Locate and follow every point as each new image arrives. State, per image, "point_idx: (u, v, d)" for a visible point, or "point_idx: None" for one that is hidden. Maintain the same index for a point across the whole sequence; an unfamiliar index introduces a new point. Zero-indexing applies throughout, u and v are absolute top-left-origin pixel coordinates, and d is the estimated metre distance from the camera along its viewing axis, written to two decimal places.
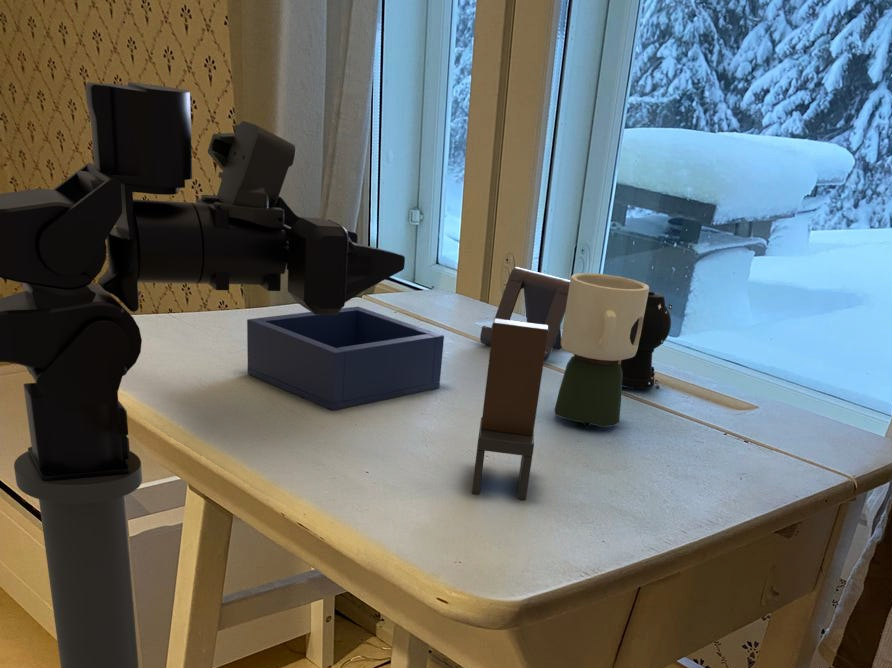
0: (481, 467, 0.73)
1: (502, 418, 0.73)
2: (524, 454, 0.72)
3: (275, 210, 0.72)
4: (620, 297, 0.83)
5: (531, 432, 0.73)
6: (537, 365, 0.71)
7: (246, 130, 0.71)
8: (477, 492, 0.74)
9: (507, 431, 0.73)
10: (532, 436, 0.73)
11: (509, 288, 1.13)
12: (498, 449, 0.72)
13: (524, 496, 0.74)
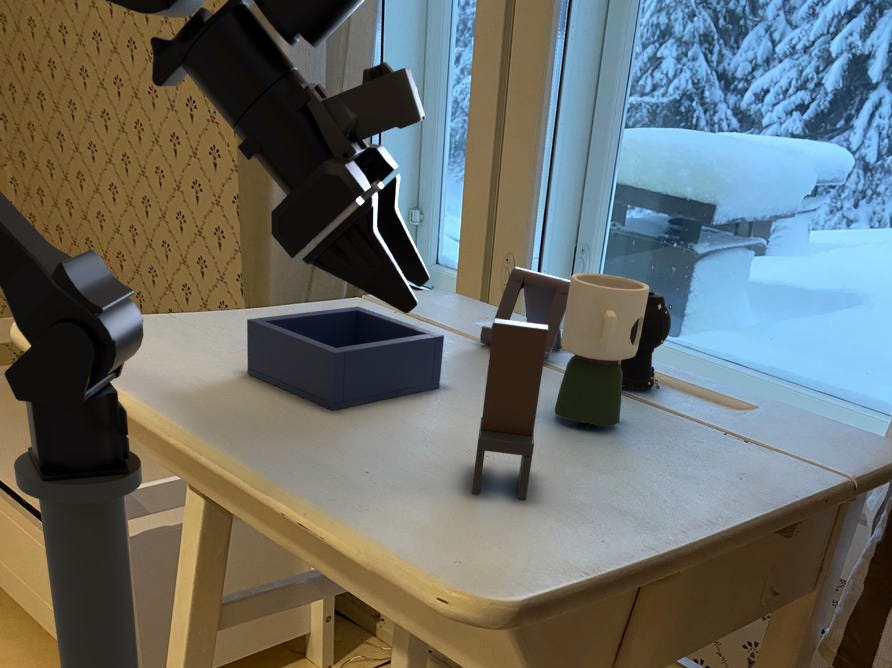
0: (481, 467, 0.73)
1: (502, 418, 0.73)
2: (524, 454, 0.72)
3: (348, 143, 0.62)
4: (620, 297, 0.83)
5: (531, 432, 0.73)
6: (537, 365, 0.71)
7: None
8: (477, 492, 0.74)
9: (507, 431, 0.73)
10: (532, 436, 0.73)
11: (509, 288, 1.13)
12: (498, 449, 0.72)
13: (524, 496, 0.74)
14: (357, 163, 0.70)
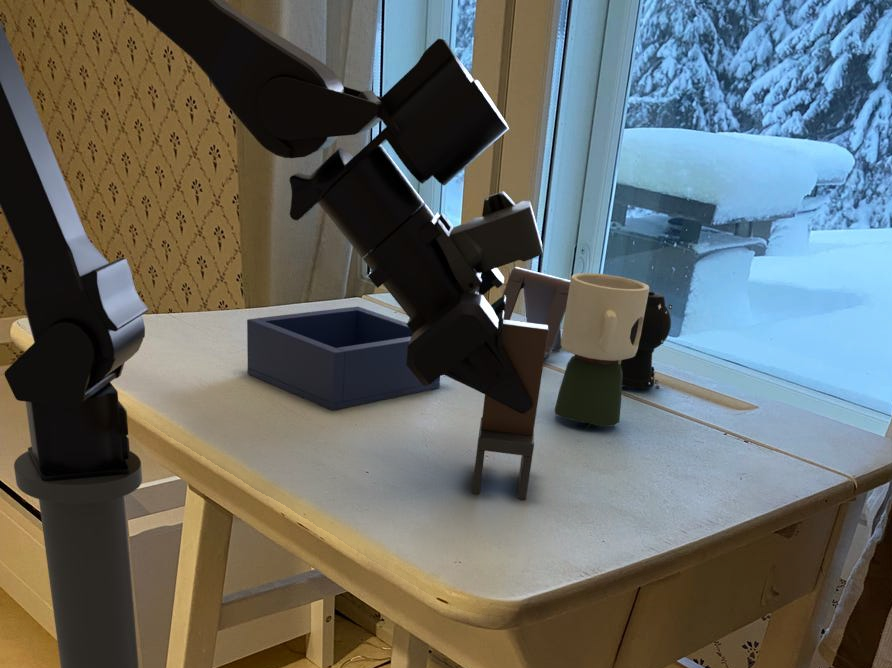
0: (481, 467, 0.73)
1: (502, 418, 0.73)
2: (524, 454, 0.72)
3: (474, 274, 0.65)
4: (620, 297, 0.83)
5: (531, 432, 0.73)
6: (538, 365, 0.71)
7: (521, 205, 0.66)
8: (477, 492, 0.74)
9: (507, 431, 0.73)
10: (532, 436, 0.73)
11: (509, 288, 1.13)
12: (498, 449, 0.72)
13: (524, 496, 0.74)
14: None
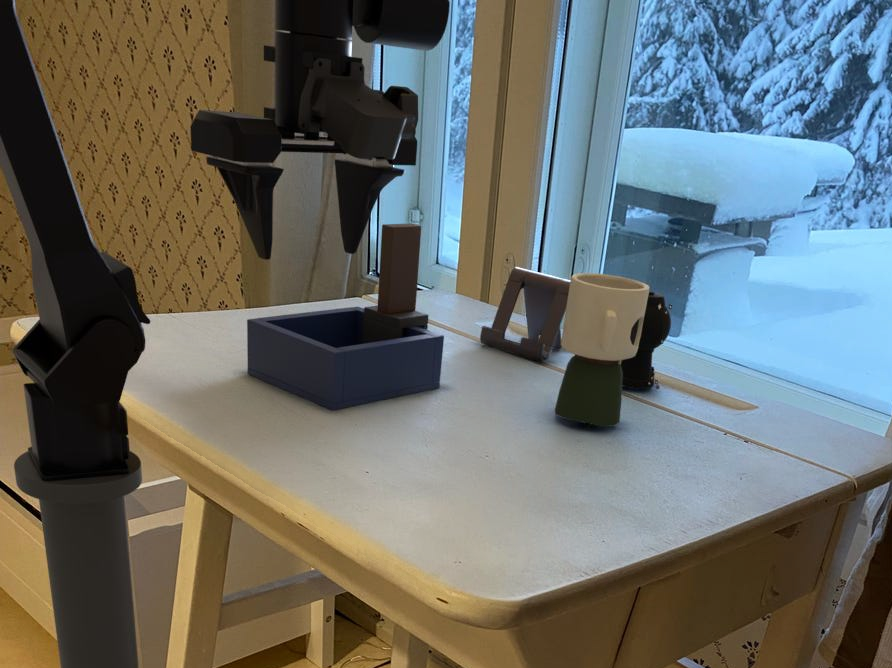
0: None
1: (399, 301, 0.95)
2: (423, 324, 0.97)
3: (309, 121, 0.71)
4: (620, 297, 0.83)
5: (414, 307, 0.97)
6: (417, 254, 0.94)
7: (386, 113, 0.70)
8: None
9: (402, 311, 0.96)
10: None
11: (509, 288, 1.13)
12: (410, 325, 0.95)
13: None
14: None
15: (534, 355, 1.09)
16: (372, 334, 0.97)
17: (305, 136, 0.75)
